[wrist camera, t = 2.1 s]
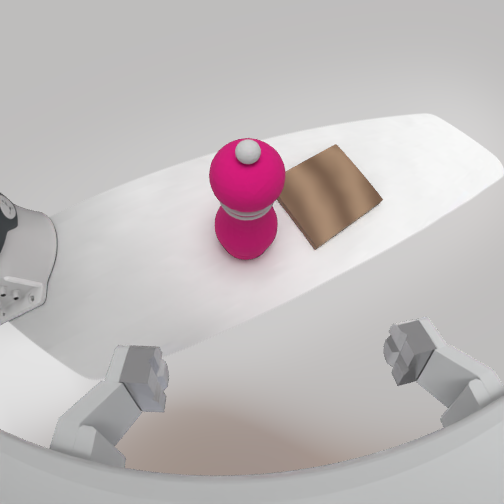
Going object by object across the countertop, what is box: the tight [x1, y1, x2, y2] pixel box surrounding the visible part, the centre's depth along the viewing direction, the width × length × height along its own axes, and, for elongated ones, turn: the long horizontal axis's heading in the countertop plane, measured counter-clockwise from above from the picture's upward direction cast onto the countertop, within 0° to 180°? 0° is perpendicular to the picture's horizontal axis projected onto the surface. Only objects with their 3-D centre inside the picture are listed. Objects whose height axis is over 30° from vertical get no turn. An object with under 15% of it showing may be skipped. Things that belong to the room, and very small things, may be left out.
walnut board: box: [277, 144, 383, 249], centre depth 39 cm, size 13×11×1 cm
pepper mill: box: [209, 138, 285, 260], centre depth 28 cm, size 7×7×20 cm
